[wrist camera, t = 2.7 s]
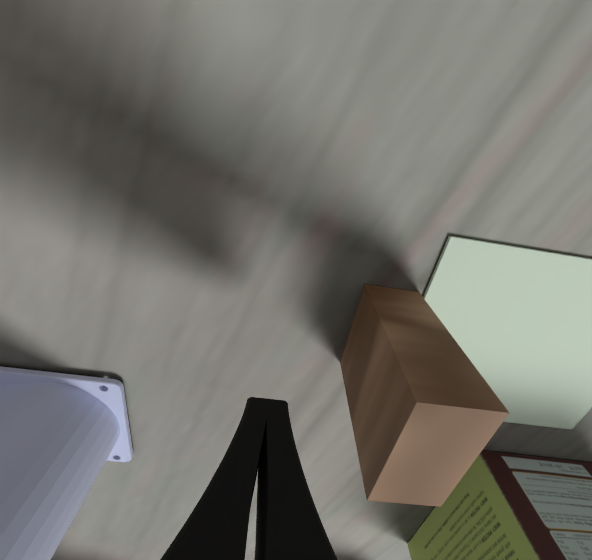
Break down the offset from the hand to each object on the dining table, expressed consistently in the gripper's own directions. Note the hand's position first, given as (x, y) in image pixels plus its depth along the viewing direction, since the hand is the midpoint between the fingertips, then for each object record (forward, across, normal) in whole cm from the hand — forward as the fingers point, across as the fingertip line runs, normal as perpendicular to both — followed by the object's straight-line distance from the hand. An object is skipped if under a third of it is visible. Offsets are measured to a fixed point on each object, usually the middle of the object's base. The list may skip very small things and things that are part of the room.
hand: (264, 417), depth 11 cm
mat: (+6, -15, 0) cm, 16 cm away
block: (+6, -6, 0) cm, 9 cm away
